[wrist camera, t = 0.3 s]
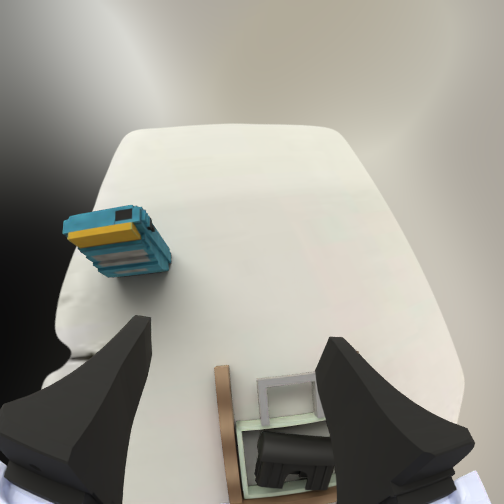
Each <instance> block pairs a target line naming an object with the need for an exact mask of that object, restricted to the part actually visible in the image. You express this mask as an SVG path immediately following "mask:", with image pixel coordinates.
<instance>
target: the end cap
mask: <svg viewBox="0 0 504 504" xmlns="http://www.w3.org/2000/svg"><path fill="white" fill-rule="evenodd" d="M257 448H258V458H257V462H256V469H255V473H254V474H255V475H256V479H255V481H256V483H257V485H258V486H260V487H266V488H277V489H282V488H283V485H284V481H285V478H286V476H287V475H288V474H299V477H305V478H307V482H306V486H305V490H327V489H328V486H329V483H330V480H331V476H332V473H333V469H334V466H335V463H334V455H333V448H332V442H331V437H322V436H307V435H295V434H285V433H276V432H268V431H263V432H262V433H261V435H260V437H259V441H258V445H257Z"/></svg>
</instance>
